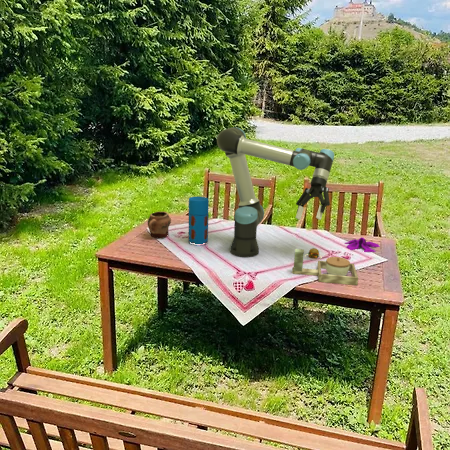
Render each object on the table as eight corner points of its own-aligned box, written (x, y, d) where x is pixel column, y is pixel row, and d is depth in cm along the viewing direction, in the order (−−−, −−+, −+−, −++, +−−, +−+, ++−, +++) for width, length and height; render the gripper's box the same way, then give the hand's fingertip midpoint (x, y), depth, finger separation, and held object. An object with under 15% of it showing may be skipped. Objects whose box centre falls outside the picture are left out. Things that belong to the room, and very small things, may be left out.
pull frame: (291, 279, 199) (293, 256, 195) (292, 265, 215) (294, 244, 211) (357, 285, 194) (360, 262, 191) (353, 270, 210) (355, 249, 207)
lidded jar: (321, 271, 208) (323, 253, 206) (343, 271, 209) (345, 253, 206) (328, 281, 198) (330, 262, 195) (351, 281, 199) (354, 262, 196)
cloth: (380, 244, 250) (381, 234, 248) (379, 255, 233) (381, 244, 231) (340, 239, 257) (341, 229, 255) (337, 249, 240) (338, 238, 238)
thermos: (200, 247, 236) (201, 202, 228) (184, 243, 241) (184, 199, 234) (211, 241, 245) (212, 198, 237) (196, 237, 250) (196, 195, 242)
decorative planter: (161, 244, 239) (160, 219, 234) (141, 241, 242) (140, 217, 238) (175, 233, 257) (175, 210, 253) (156, 230, 260) (155, 208, 256)
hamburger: (296, 257, 227) (297, 247, 225) (310, 252, 234) (311, 243, 233) (315, 264, 218) (315, 254, 216) (329, 259, 226) (330, 249, 224)
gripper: (344, 180, 208) (332, 221, 204) (306, 184, 229) (294, 221, 224) (334, 174, 204) (322, 215, 200) (296, 177, 224) (285, 215, 220)
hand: (307, 218), depth 212 cm, fingers open, 13 cm apart
